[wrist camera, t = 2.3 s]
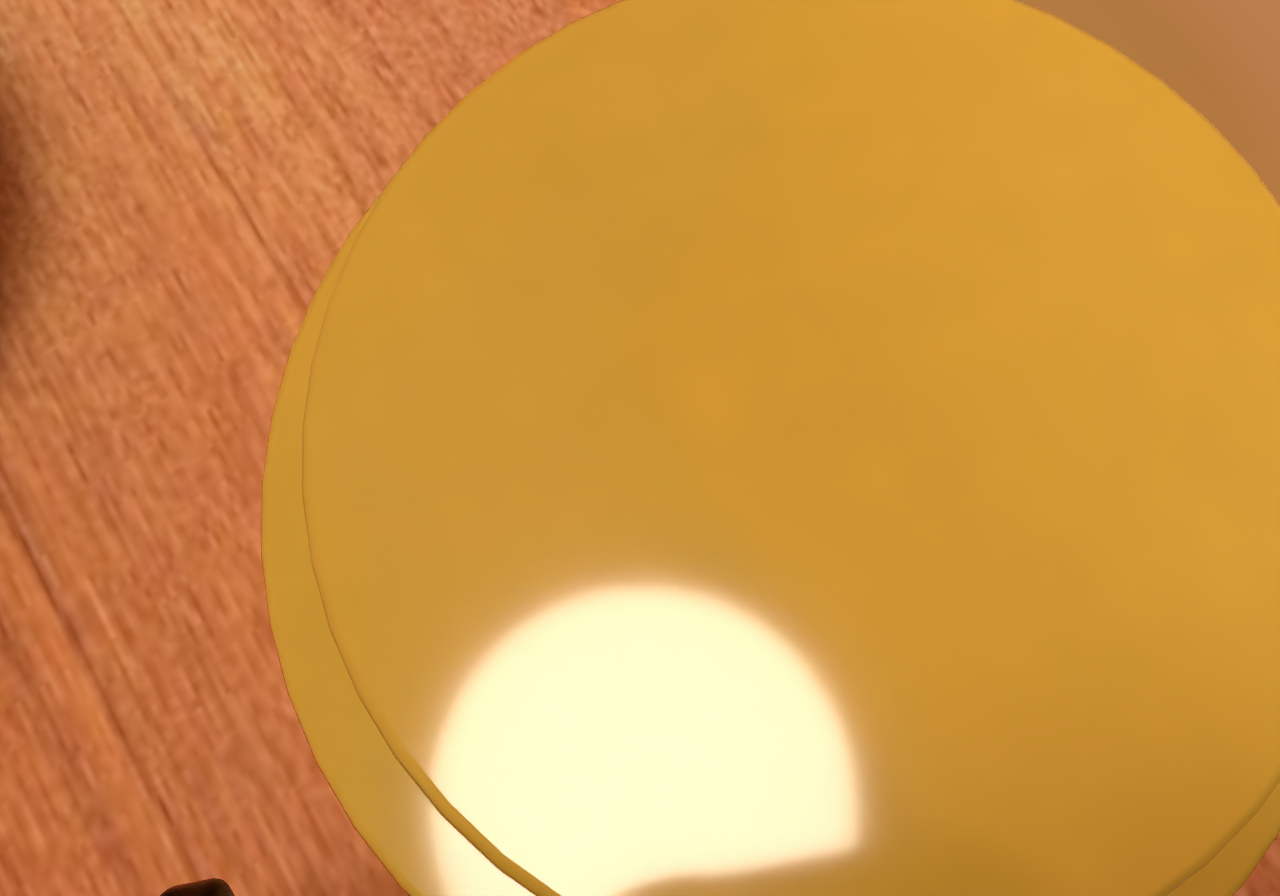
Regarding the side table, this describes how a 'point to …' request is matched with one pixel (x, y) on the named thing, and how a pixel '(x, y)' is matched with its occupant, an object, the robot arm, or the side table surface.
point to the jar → (795, 471)
